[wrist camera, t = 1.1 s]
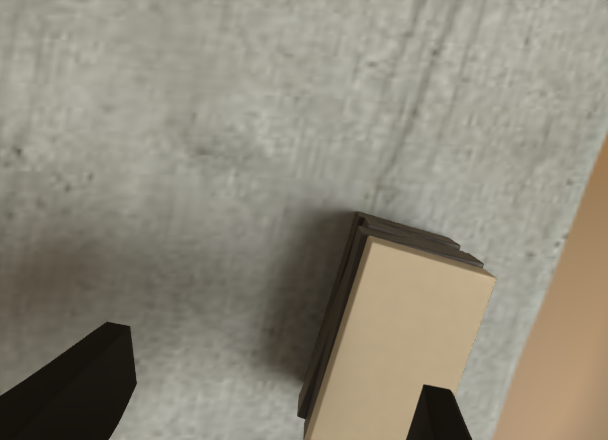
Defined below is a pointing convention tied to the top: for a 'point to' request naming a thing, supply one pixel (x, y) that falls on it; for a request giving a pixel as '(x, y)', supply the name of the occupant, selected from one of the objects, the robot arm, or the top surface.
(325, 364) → the dark grey-brown flat block
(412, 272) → the beige flat slab
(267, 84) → the top surface
